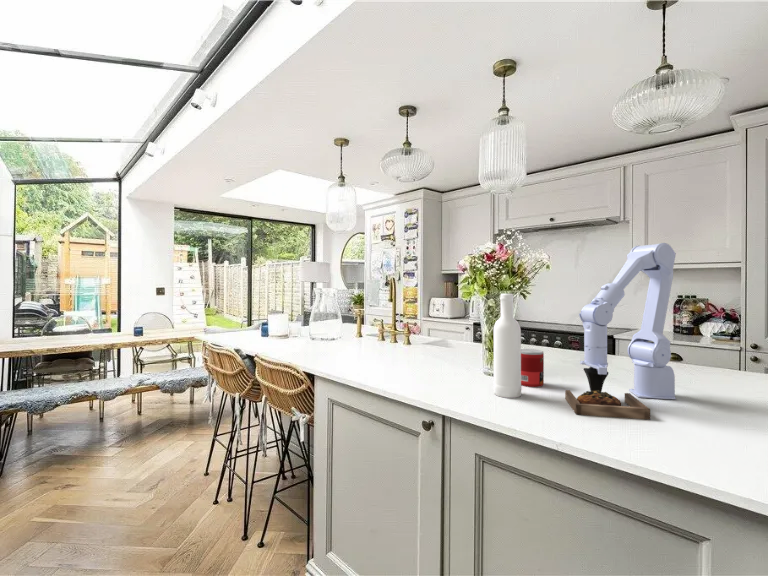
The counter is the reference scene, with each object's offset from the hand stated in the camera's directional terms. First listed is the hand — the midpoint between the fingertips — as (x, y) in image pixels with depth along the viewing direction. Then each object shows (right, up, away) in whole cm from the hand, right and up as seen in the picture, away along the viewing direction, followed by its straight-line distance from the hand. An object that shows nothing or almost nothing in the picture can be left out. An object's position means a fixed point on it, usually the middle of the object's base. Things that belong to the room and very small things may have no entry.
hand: (595, 394), depth 113 cm
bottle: (-23, -2, +6) cm, 24 cm away
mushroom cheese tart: (-2, -2, -5) cm, 6 cm away
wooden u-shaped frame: (-2, -2, -8) cm, 8 cm away
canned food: (-12, -2, +17) cm, 21 cm away
